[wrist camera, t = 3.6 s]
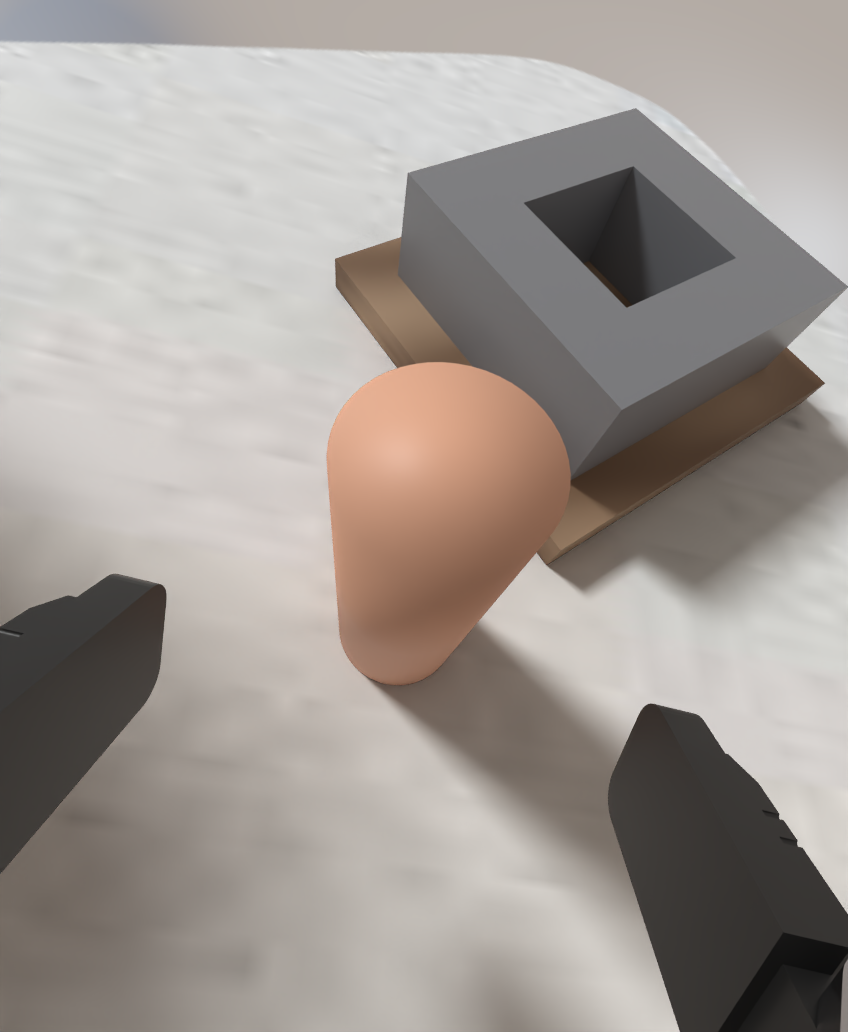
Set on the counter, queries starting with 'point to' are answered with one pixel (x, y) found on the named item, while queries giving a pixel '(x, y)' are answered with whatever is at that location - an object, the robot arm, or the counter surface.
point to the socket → (621, 260)
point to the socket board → (622, 476)
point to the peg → (435, 509)
